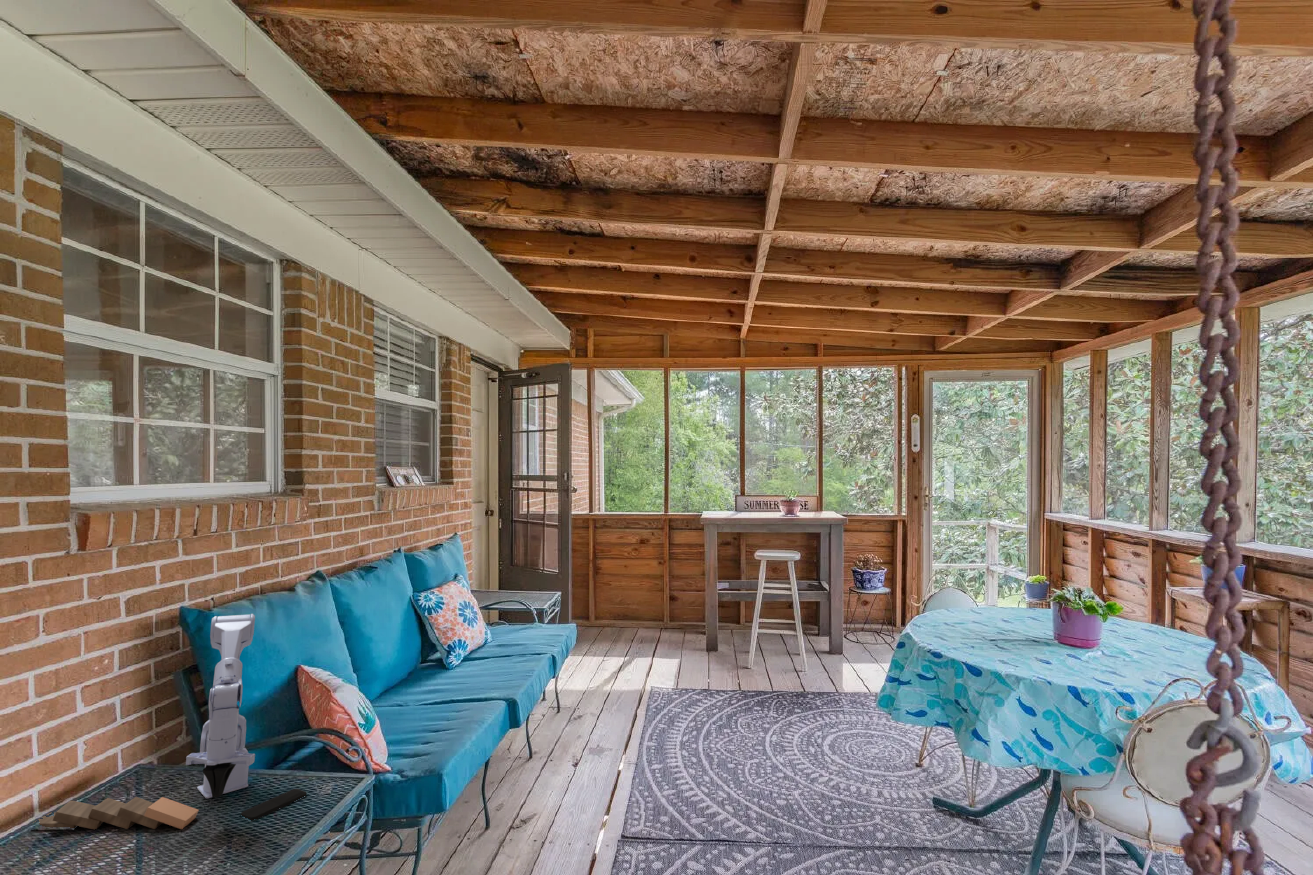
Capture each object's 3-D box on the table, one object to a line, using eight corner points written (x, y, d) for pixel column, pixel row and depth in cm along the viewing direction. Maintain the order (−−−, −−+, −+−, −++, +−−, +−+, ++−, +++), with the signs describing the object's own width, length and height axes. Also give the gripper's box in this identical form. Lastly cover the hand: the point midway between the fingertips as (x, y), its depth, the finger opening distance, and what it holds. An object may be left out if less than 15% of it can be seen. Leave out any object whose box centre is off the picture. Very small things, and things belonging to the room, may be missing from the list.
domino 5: (198, 809, 155) (162, 796, 155) (185, 820, 150) (147, 807, 150) (195, 817, 155) (158, 804, 155) (181, 829, 150) (144, 815, 150)
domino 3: (145, 809, 154) (107, 797, 154) (131, 820, 149) (91, 808, 149) (142, 817, 154) (104, 805, 154) (127, 829, 149) (88, 816, 149)
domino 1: (91, 812, 153) (50, 812, 152) (74, 823, 148) (31, 823, 147) (90, 820, 153) (49, 821, 152) (73, 832, 148) (30, 832, 147)
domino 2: (112, 809, 153) (70, 800, 152) (99, 820, 149) (56, 811, 147) (109, 817, 153) (67, 808, 152) (95, 829, 148) (52, 820, 147)
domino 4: (172, 809, 155) (136, 796, 154) (158, 820, 150) (120, 807, 149) (169, 817, 155) (132, 804, 154) (154, 829, 150) (116, 815, 149)
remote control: (250, 826, 154) (308, 796, 168) (251, 818, 154) (308, 789, 168) (237, 820, 156) (295, 792, 170) (238, 813, 156) (296, 785, 170)
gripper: (179, 742, 150) (174, 803, 149) (244, 743, 151) (240, 803, 150) (198, 730, 157) (193, 788, 156) (261, 731, 158) (256, 789, 157)
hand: (217, 795), depth 153 cm, fingers closed
